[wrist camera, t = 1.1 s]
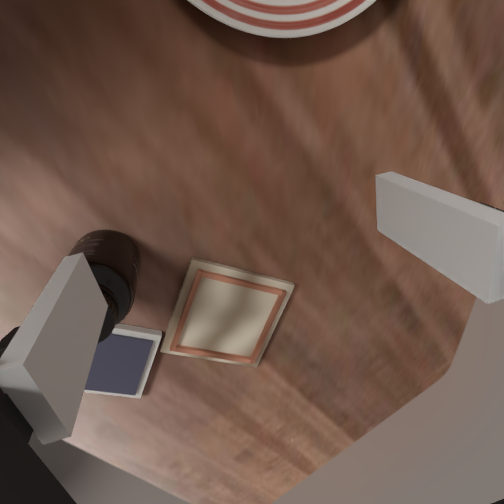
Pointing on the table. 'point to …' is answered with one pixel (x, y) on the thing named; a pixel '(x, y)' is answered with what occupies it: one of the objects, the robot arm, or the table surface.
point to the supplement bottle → (112, 272)
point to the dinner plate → (282, 15)
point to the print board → (225, 313)
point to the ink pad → (123, 361)
